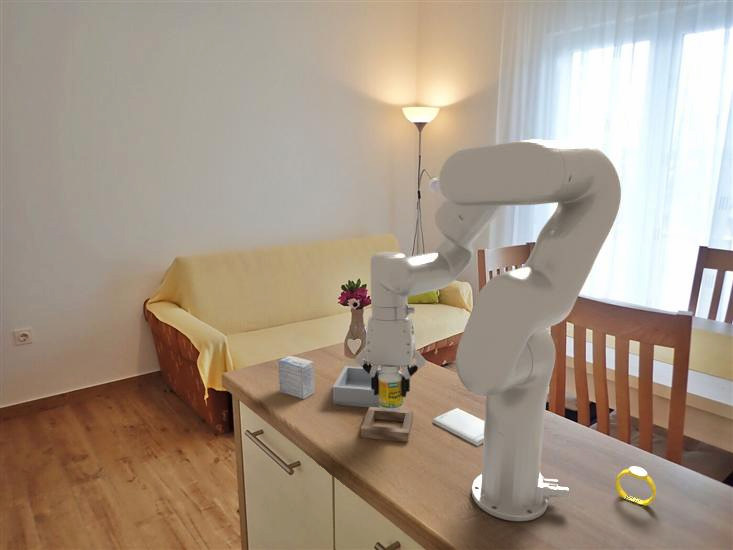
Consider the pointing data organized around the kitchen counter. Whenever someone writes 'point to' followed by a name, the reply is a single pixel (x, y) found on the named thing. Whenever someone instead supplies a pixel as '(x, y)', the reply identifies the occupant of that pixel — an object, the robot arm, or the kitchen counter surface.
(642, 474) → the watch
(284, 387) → the medicine box
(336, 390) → the slate tray
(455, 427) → the hard drive
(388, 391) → the supplement bottle
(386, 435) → the walnut square tray
